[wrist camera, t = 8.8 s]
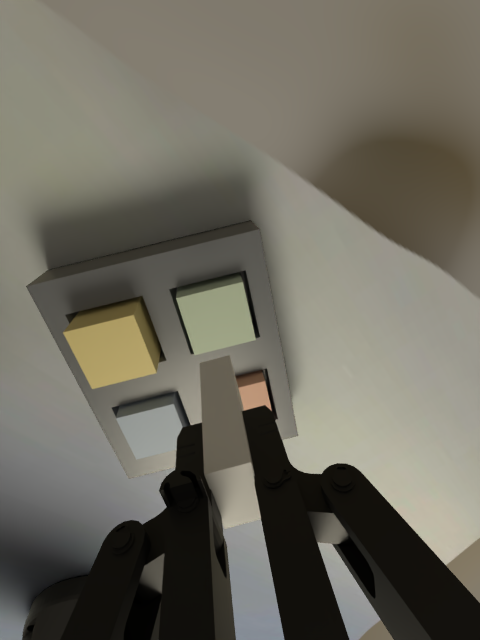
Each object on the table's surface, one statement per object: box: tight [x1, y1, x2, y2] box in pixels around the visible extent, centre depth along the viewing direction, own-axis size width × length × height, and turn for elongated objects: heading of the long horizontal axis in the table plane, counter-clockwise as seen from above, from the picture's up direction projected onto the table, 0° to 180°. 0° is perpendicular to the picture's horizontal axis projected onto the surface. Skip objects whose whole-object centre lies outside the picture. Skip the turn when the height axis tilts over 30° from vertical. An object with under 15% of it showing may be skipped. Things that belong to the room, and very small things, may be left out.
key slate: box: [116, 391, 190, 460], centre depth 28 cm, size 4×4×4 cm
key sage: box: [176, 272, 256, 355], centre depth 24 cm, size 4×4×4 cm
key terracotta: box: [235, 370, 272, 411], centre depth 28 cm, size 4×4×4 cm
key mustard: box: [63, 296, 161, 389], centre depth 23 cm, size 4×4×4 cm
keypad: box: [26, 221, 298, 479], centre depth 27 cm, size 15×18×4 cm
